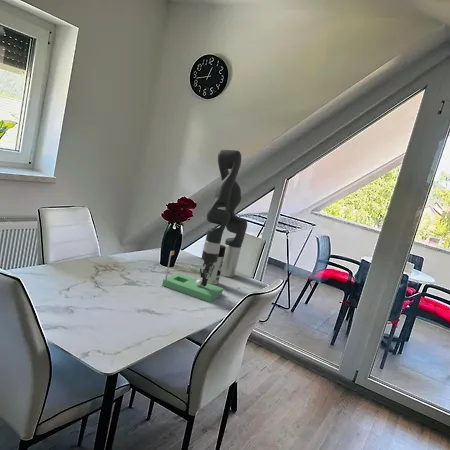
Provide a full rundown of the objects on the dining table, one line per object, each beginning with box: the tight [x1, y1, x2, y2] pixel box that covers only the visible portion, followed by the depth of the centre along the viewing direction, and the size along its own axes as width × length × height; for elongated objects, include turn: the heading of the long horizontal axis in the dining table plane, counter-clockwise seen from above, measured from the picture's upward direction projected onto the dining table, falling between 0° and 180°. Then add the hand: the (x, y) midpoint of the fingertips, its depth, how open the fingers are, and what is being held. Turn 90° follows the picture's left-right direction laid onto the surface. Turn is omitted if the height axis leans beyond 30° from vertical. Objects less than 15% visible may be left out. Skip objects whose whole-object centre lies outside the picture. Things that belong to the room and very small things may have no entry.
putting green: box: [161, 250, 224, 303], centre depth 202 cm, size 15×25×17 cm, turn 69°
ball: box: [196, 279, 202, 286], centre depth 202 cm, size 3×3×3 cm
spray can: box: [207, 244, 226, 286], centre depth 219 cm, size 7×7×20 cm
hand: (203, 285), depth 201 cm, fingers closed
